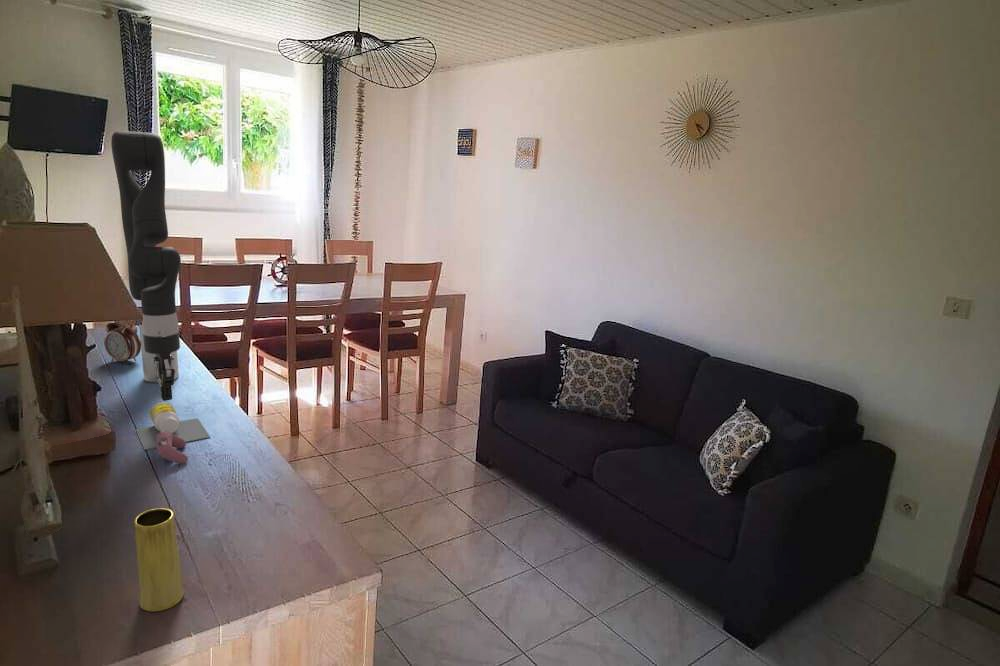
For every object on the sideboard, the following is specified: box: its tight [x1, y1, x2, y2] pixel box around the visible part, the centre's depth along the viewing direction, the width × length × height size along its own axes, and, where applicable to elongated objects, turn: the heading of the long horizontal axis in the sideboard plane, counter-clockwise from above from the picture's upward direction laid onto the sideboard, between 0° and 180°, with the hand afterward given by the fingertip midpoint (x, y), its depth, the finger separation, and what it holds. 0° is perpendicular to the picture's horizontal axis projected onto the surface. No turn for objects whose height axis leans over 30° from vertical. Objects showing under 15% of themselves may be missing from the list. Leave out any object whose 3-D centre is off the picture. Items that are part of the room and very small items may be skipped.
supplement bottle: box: [149, 402, 180, 433], centre depth 153 cm, size 5×5×10 cm
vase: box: [133, 507, 185, 612], centre depth 95 cm, size 6×6×14 cm
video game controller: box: [156, 430, 188, 465], centre depth 140 cm, size 10×5×7 cm, turn 28°
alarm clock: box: [103, 322, 141, 365], centre depth 198 cm, size 11×5×15 cm, turn 73°
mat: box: [135, 417, 211, 451], centre depth 152 cm, size 13×14×1 cm
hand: (166, 399), depth 153 cm, fingers closed
